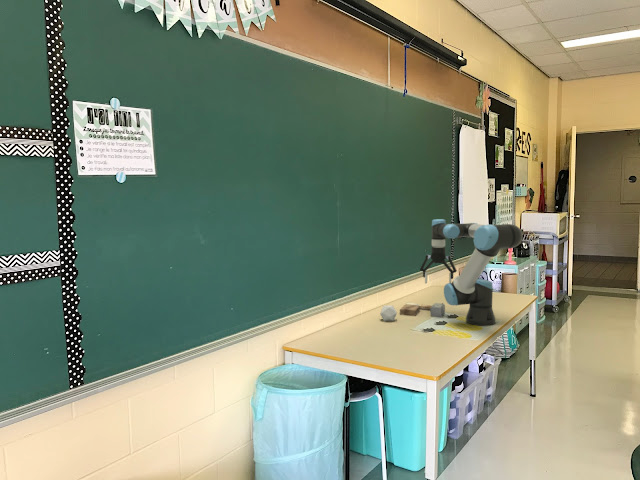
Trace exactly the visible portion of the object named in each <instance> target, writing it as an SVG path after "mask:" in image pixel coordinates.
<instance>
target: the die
mask: <svg viewBox="0 0 640 480" xmlns="http://www.w3.org/2000/svg"><path fill="white" fill-rule="evenodd" d="M397 313H398V312H397V309H395V307H394V305H390V304H388V305H382V308H381V311H380V316H381V318H382V320H383V322H395V319H396V317H397Z"/></svg>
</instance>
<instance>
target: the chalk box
mask: <svg viewBox="0 0 640 480" xmlns="http://www.w3.org/2000/svg"><path fill="white" fill-rule="evenodd" d="M405 305H417V306H420V305H419V304H418V303H412V302H411V303H410V302H409V303H408V302H407V303H405Z"/></svg>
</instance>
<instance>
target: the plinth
mask: <svg viewBox="0 0 640 480" xmlns="http://www.w3.org/2000/svg"><path fill="white" fill-rule="evenodd" d="M420 306H421V305H419V306H417V305H406V304H404V305H403V306H402V307H401V308H400V309H399V315H401V316H413V317H416V316H417V315H418V314H419V313H420V312H421V310H420Z"/></svg>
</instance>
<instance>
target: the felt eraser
mask: <svg viewBox="0 0 640 480" xmlns="http://www.w3.org/2000/svg"><path fill="white" fill-rule="evenodd" d="M419 306H420V311H428V312H431V307H432V305H429V304H421V305H419Z"/></svg>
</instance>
